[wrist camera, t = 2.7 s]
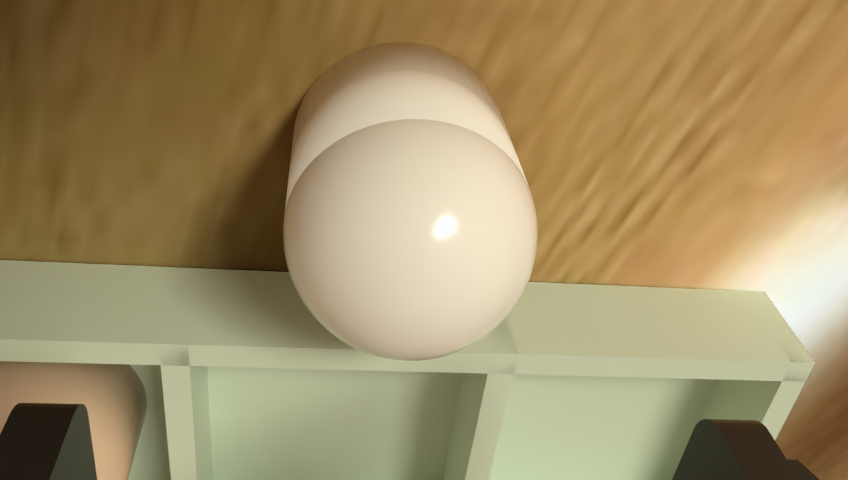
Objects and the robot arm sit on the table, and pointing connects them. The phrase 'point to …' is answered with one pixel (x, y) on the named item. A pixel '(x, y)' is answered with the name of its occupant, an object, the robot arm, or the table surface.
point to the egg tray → (408, 376)
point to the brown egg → (95, 388)
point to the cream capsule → (406, 204)
